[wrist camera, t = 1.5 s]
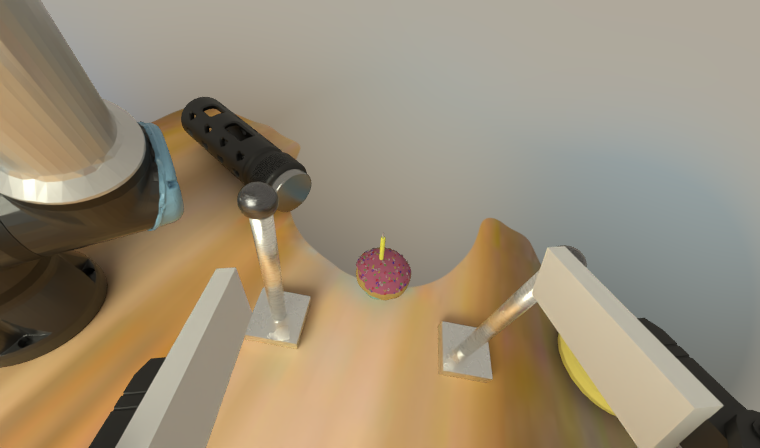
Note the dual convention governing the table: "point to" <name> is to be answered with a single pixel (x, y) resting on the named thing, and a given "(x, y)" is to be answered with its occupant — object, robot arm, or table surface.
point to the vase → (581, 376)
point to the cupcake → (383, 272)
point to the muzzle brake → (246, 152)
